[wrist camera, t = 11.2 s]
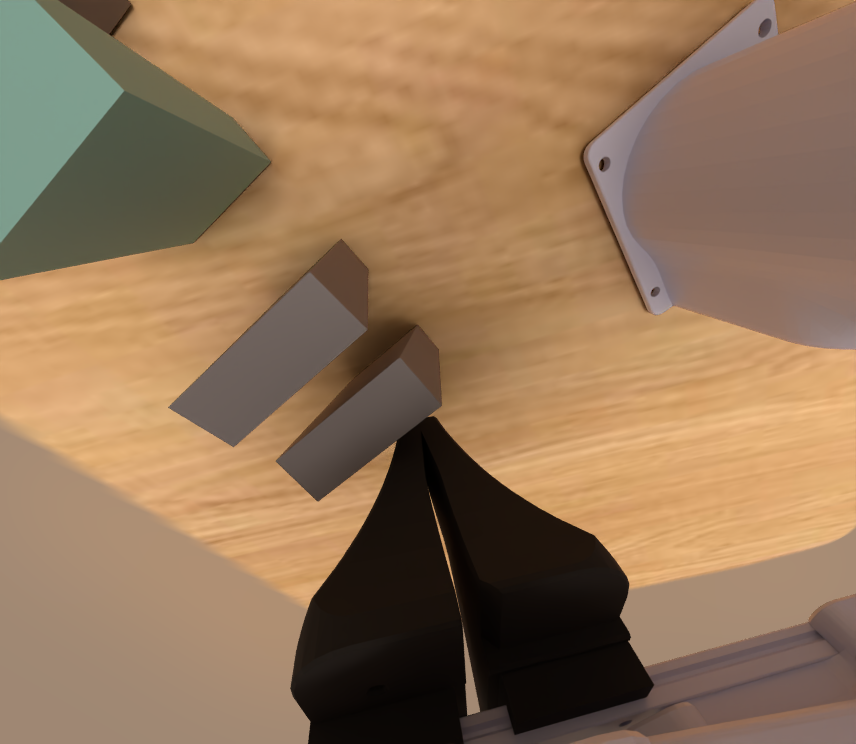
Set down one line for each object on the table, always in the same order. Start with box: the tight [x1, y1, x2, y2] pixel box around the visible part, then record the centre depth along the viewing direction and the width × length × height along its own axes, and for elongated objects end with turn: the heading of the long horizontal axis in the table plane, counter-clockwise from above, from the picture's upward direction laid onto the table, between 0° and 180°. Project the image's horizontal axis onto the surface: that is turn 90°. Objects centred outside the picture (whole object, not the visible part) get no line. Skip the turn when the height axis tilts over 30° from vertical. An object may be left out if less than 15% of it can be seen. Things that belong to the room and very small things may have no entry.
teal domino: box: [0, 0, 271, 280], centre depth 8 cm, size 2×4×8 cm, turn 128°
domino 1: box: [168, 239, 368, 447], centre depth 10 cm, size 2×4×8 cm, turn 129°
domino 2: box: [276, 325, 442, 501], centre depth 12 cm, size 2×4×8 cm, turn 129°
